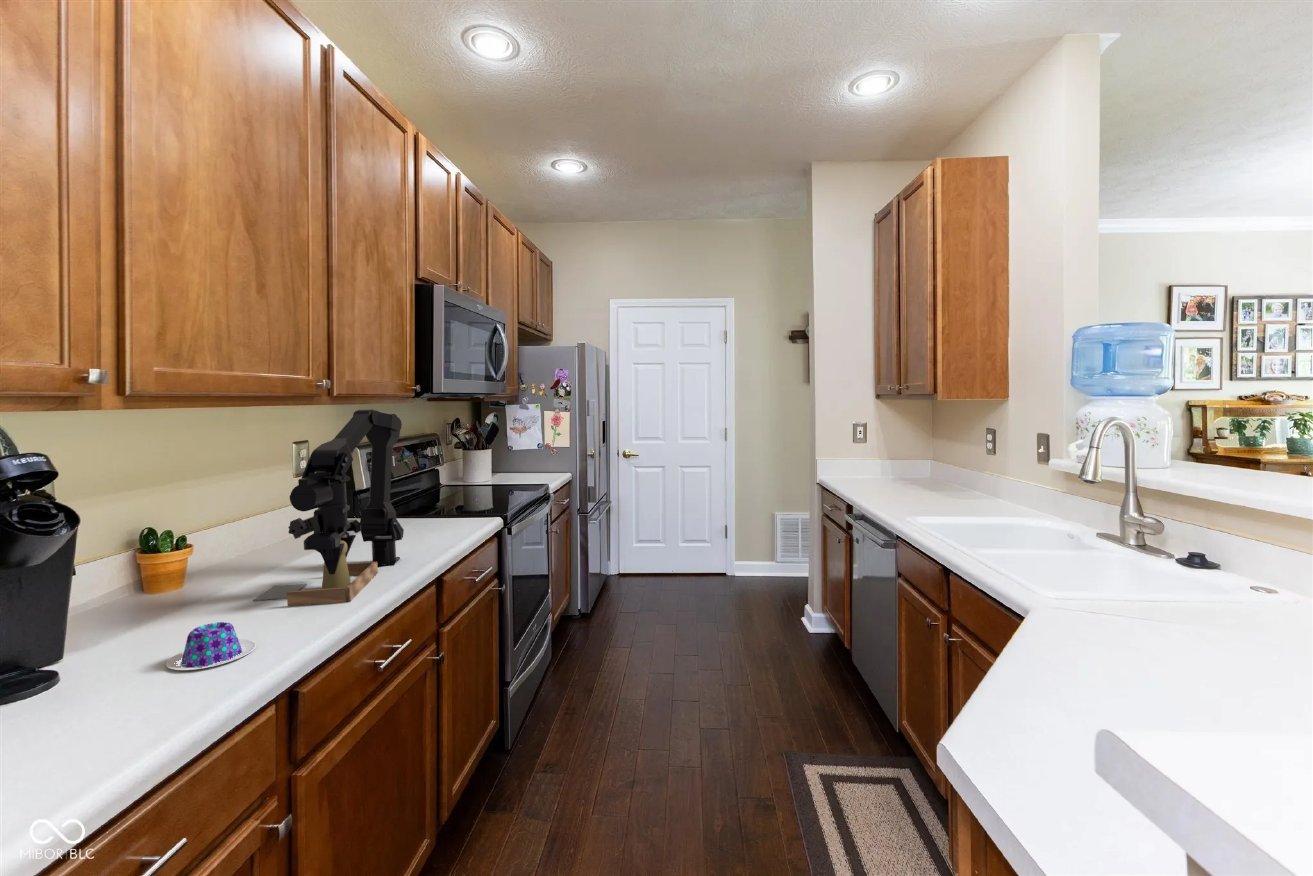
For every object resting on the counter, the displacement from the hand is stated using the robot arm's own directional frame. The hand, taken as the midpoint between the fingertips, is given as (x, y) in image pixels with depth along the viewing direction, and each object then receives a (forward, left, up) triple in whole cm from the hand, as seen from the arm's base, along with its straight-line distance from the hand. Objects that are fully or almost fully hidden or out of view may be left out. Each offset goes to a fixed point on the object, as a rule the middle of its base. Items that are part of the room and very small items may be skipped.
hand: (335, 571), depth 134 cm
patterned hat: (+35, -8, -5) cm, 36 cm away
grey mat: (0, -12, -4) cm, 12 cm away
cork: (0, 0, -4) cm, 4 cm away
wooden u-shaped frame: (0, 0, -4) cm, 4 cm away
